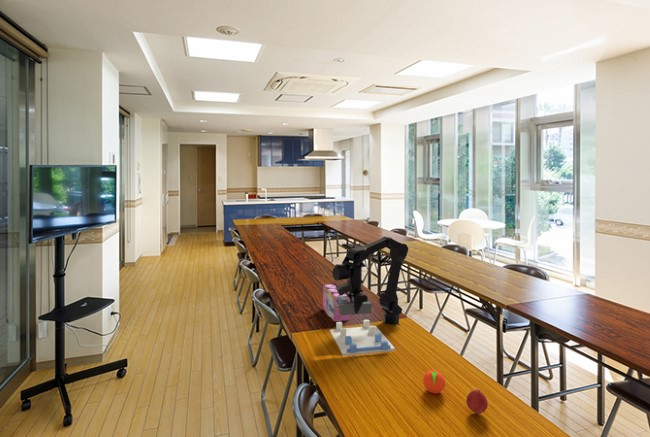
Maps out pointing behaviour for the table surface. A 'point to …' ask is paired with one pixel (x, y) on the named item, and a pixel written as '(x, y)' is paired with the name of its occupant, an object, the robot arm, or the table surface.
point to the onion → (477, 401)
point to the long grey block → (348, 308)
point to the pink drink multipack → (333, 302)
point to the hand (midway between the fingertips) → (355, 311)
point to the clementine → (434, 381)
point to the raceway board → (360, 339)
